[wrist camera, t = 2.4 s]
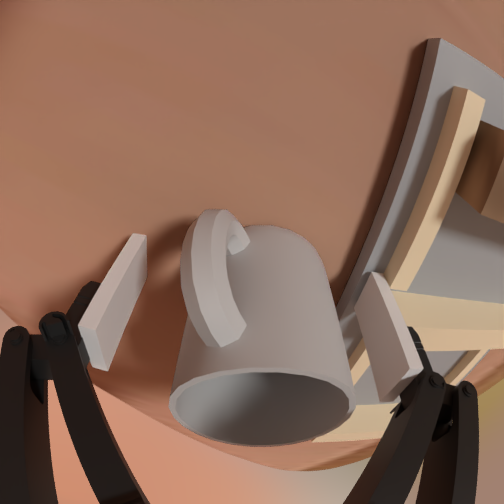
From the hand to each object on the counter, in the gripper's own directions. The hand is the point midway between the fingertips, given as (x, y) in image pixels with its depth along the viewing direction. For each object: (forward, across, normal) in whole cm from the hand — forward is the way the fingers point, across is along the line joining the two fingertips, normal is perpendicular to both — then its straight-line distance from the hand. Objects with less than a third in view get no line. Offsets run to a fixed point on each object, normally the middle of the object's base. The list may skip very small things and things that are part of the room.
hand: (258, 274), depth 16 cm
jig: (+1, +15, -1) cm, 15 cm away
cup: (+2, 0, 0) cm, 2 cm away
